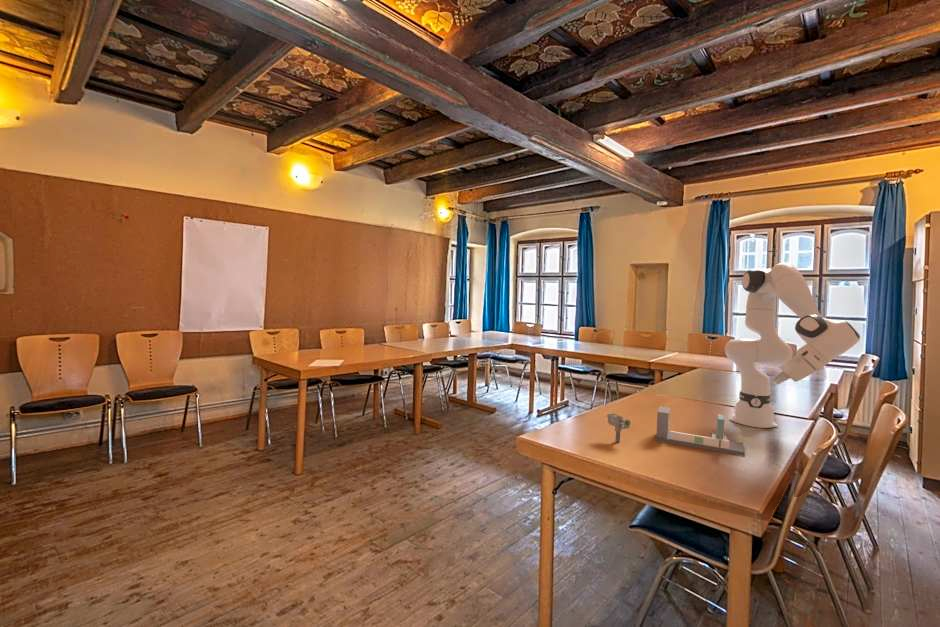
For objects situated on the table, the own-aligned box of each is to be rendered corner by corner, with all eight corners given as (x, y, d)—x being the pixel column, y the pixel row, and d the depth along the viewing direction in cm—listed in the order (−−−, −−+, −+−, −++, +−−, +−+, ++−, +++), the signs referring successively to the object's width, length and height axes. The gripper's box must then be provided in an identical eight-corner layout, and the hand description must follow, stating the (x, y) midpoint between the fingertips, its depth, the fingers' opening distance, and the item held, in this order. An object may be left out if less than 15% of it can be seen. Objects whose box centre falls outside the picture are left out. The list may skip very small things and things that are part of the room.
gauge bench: (658, 432, 183) (659, 405, 183) (742, 446, 169) (743, 417, 169) (655, 440, 173) (657, 412, 172) (744, 456, 159) (746, 425, 158)
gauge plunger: (711, 438, 172) (713, 413, 172) (726, 440, 170) (727, 415, 170) (712, 446, 163) (713, 419, 163) (727, 448, 161) (729, 422, 161)
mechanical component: (624, 446, 165) (626, 420, 164) (605, 438, 174) (606, 413, 174) (630, 445, 166) (631, 419, 166) (610, 437, 175) (611, 412, 175)
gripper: (797, 348, 164) (764, 371, 169) (808, 354, 146) (771, 379, 151) (811, 361, 162) (777, 384, 167) (824, 369, 144) (786, 394, 149)
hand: (775, 382), depth 159 cm, fingers closed
